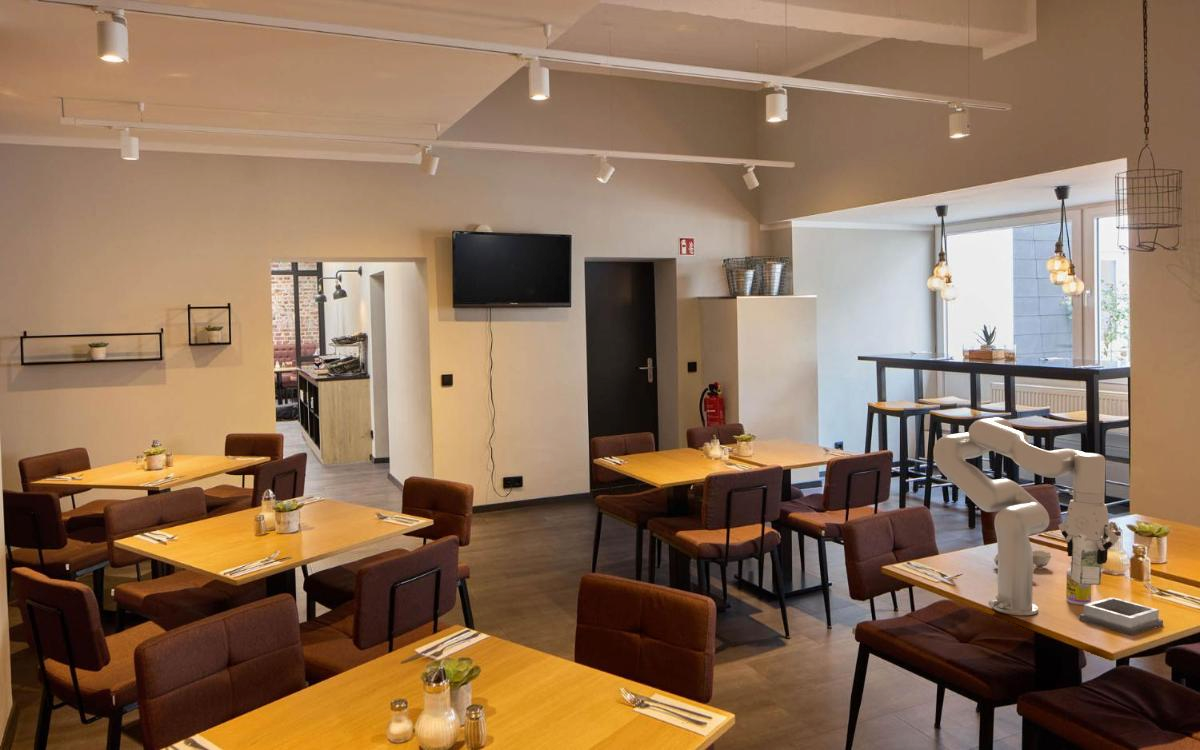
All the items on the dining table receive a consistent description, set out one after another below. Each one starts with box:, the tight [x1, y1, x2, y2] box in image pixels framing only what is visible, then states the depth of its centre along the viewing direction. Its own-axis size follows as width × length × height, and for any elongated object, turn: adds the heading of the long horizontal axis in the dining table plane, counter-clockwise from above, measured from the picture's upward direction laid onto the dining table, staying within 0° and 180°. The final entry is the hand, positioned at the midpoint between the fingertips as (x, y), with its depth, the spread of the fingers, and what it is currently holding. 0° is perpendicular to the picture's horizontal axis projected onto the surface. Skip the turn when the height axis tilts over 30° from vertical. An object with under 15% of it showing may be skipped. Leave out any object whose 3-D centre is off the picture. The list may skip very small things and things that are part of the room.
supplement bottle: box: [1065, 559, 1092, 606], centre depth 264 cm, size 7×7×13 cm
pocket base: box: [1079, 596, 1164, 636], centre depth 246 cm, size 15×15×4 cm
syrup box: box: [1070, 533, 1103, 586], centre depth 239 cm, size 6×6×14 cm
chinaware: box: [993, 549, 1053, 574], centre depth 296 cm, size 28×17×17 cm, turn 142°
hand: (1086, 559), depth 239 cm, fingers closed on syrup box, 7 cm apart
